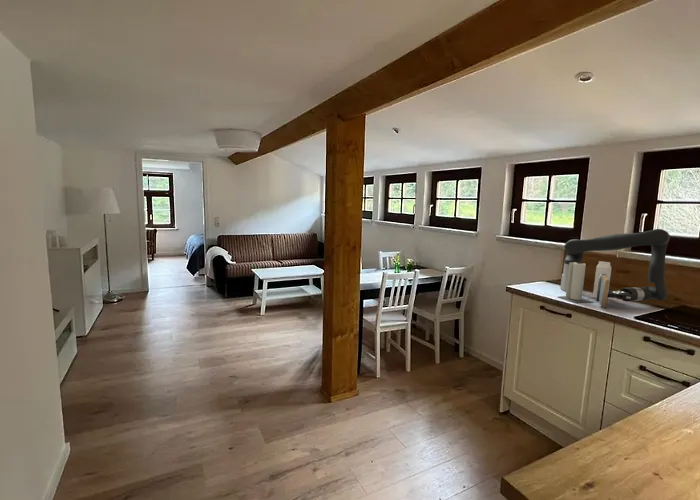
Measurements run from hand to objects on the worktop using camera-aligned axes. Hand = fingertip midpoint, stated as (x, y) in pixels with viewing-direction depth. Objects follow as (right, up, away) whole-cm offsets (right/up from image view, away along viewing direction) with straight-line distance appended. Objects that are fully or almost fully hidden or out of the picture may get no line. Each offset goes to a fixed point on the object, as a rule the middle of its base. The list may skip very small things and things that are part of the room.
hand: (606, 295), depth 202 cm
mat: (-7, -5, +17) cm, 19 cm away
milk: (+12, -4, +23) cm, 27 cm away
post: (+6, -5, +15) cm, 17 cm away
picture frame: (+1, -5, +5) cm, 7 cm away
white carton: (-7, -4, +17) cm, 19 cm away
